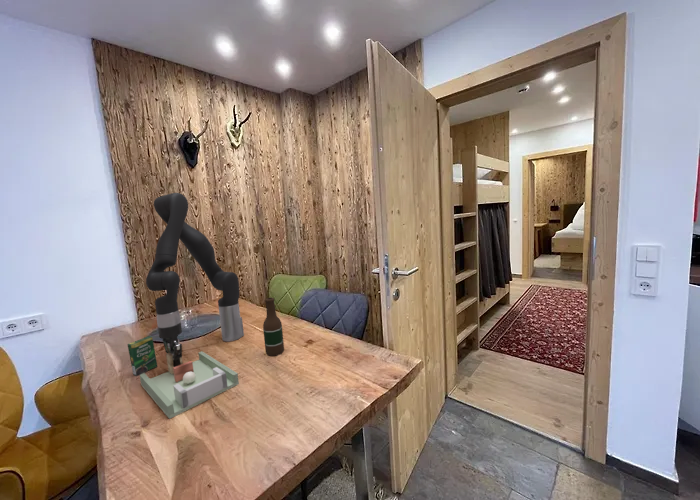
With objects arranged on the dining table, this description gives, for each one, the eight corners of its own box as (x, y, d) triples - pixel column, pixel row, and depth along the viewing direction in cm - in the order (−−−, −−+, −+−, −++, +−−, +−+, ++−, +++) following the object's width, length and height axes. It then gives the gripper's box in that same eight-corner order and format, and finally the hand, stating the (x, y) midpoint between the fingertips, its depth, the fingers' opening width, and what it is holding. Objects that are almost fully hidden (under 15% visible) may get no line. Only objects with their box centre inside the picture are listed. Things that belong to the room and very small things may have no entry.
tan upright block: (182, 365, 116) (180, 348, 116) (194, 374, 109) (191, 356, 108) (165, 372, 112) (163, 354, 111) (176, 382, 104) (173, 363, 103)
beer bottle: (261, 354, 124) (256, 300, 121) (274, 347, 131) (269, 295, 128) (275, 357, 121) (270, 301, 118) (288, 349, 127) (283, 296, 125)
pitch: (203, 360, 123) (202, 351, 122) (238, 384, 103) (237, 373, 102) (141, 385, 106) (139, 374, 106) (169, 419, 86) (167, 406, 86)
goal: (218, 380, 104) (216, 367, 104) (227, 386, 100) (225, 373, 99) (175, 400, 94) (173, 385, 93) (183, 408, 89) (181, 393, 89)
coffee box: (135, 377, 112) (130, 344, 111) (132, 375, 114) (126, 343, 112) (157, 367, 119) (153, 336, 118) (154, 365, 121) (149, 335, 119)
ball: (193, 378, 107) (192, 368, 106) (198, 382, 104) (196, 371, 103) (181, 383, 104) (180, 373, 103) (186, 387, 101) (184, 376, 100)
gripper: (187, 323, 109) (192, 367, 111) (173, 316, 118) (179, 356, 120) (164, 330, 103) (170, 376, 105) (152, 322, 112) (158, 364, 114)
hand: (175, 365), depth 113 cm, fingers closed on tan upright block, 4 cm apart
